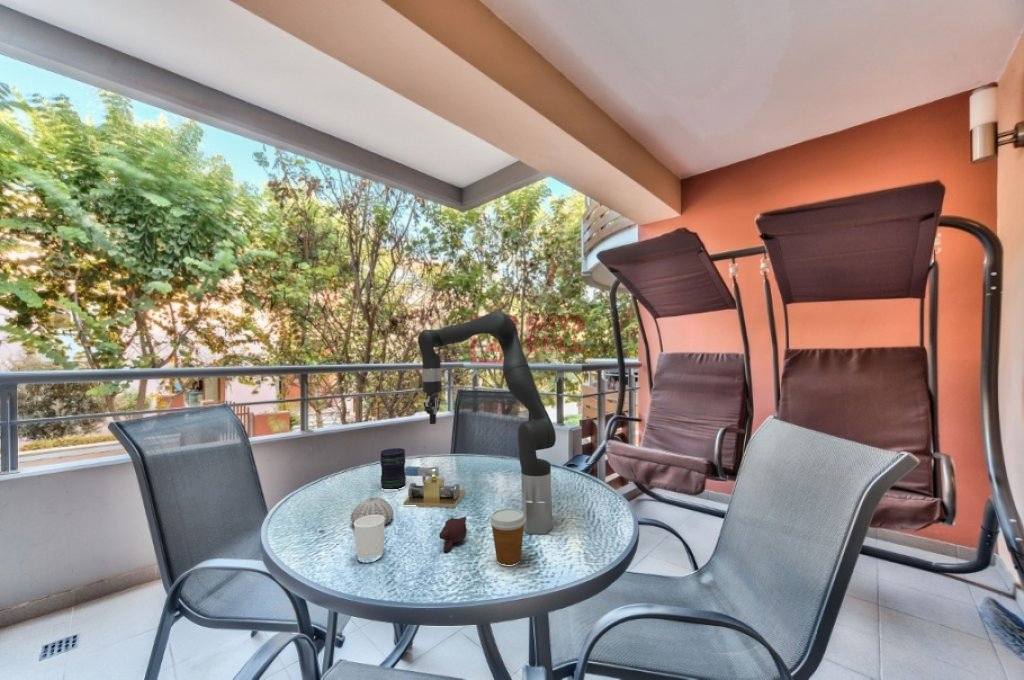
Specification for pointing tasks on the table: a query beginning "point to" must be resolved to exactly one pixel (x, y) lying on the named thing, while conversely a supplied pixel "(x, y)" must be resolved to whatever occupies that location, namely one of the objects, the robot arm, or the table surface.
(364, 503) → the sea urchin shell
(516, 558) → the disposable coffee cup
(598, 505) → the table surface
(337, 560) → the table surface
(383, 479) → the storage jar
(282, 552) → the table surface
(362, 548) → the white cup
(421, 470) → the lever
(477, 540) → the table surface
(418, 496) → the valve
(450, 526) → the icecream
